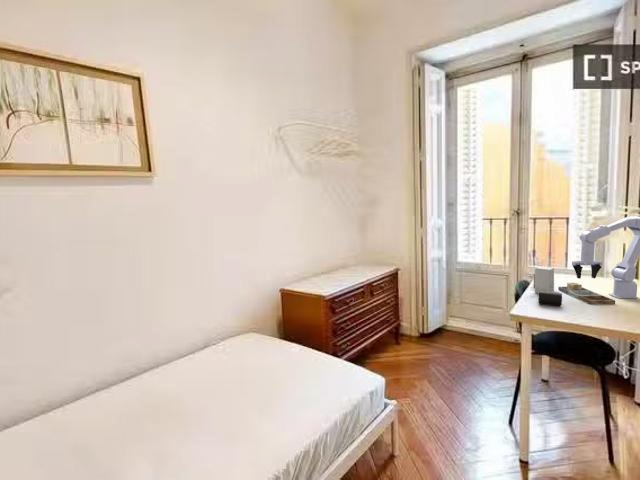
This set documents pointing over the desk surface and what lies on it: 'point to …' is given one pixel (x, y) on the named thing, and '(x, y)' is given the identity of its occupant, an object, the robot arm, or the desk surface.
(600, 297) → the walnut tray
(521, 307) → the desk surface
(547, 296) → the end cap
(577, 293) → the sage tray
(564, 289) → the charcoal tray
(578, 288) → the maple letter cube
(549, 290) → the skincare box
